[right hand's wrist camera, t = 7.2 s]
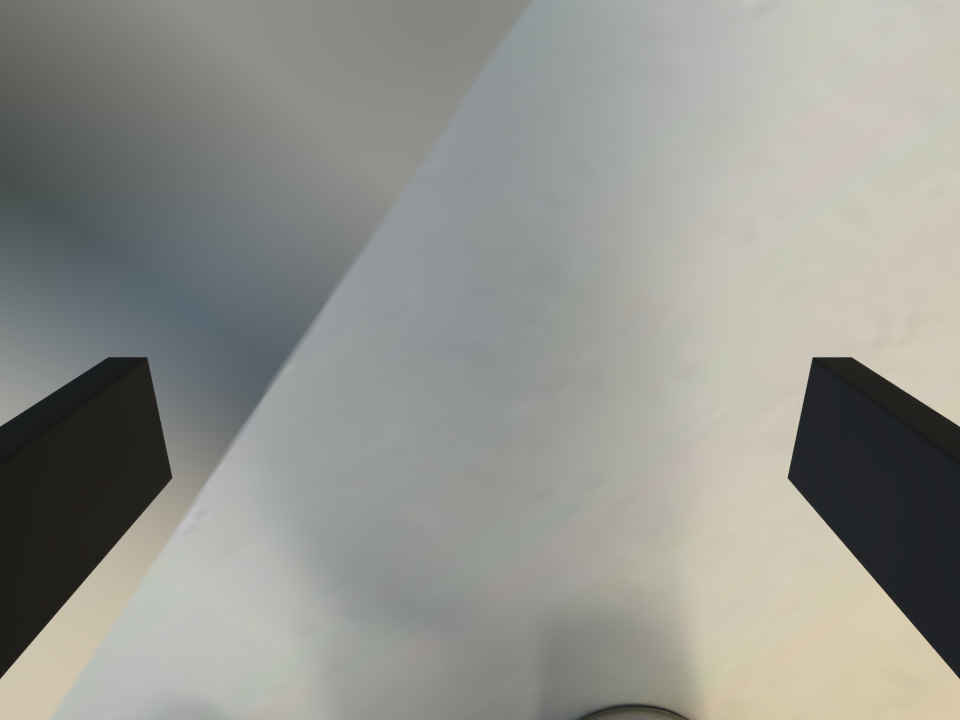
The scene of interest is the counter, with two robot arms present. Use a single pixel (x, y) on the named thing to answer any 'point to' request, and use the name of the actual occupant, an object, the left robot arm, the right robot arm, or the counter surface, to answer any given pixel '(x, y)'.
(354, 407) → the counter surface
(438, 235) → the counter surface
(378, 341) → the counter surface
